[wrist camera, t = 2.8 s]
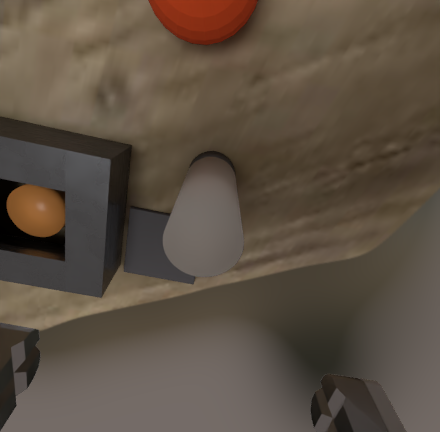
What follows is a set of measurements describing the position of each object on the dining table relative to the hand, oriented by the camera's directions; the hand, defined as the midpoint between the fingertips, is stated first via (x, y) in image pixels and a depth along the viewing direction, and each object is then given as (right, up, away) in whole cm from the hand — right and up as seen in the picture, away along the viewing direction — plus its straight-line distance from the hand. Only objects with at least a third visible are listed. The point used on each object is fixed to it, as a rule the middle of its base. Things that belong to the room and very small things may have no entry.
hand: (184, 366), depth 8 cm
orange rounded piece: (-13, +5, +16) cm, 22 cm away
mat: (-4, +1, +20) cm, 20 cm away
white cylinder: (0, +8, +17) cm, 19 cm away
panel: (-16, +7, +18) cm, 25 cm away
